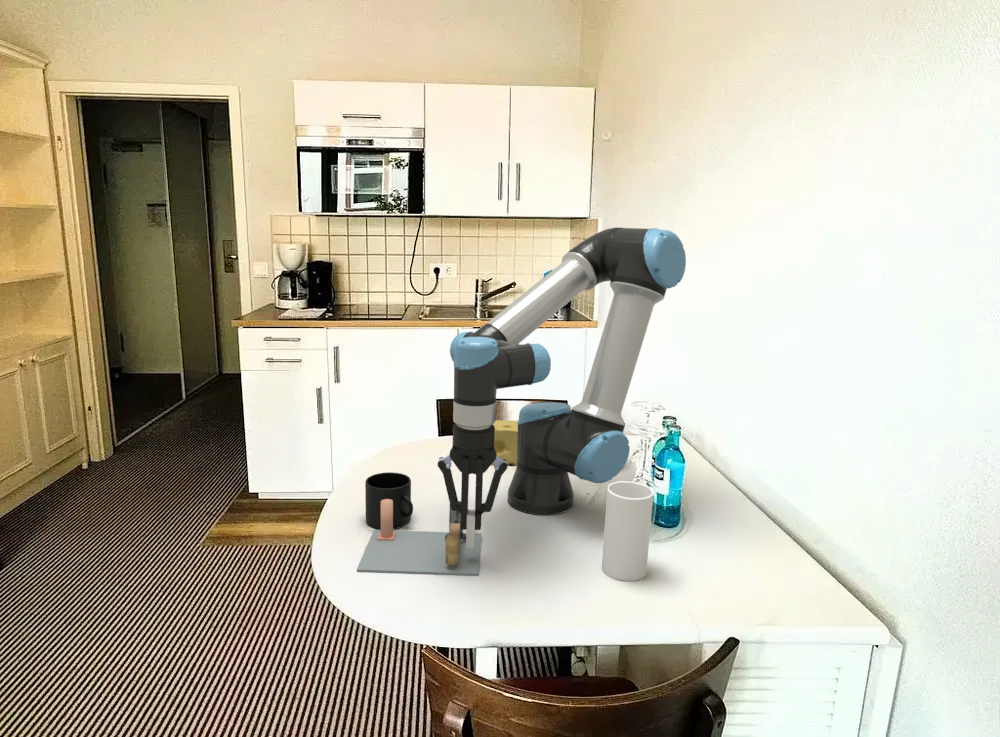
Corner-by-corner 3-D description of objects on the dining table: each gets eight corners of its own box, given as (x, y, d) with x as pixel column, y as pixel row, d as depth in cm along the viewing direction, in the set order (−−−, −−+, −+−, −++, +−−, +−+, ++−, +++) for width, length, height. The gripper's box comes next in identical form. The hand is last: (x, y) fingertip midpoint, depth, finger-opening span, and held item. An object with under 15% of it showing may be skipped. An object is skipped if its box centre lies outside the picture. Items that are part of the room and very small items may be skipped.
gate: (449, 539, 130) (449, 518, 129) (461, 539, 130) (461, 518, 129) (444, 564, 121) (445, 541, 120) (457, 565, 121) (458, 542, 120)
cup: (636, 586, 119) (644, 502, 115) (594, 572, 123) (600, 491, 119) (652, 567, 125) (659, 487, 122) (611, 554, 130) (617, 477, 126)
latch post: (396, 535, 134) (396, 498, 133) (393, 542, 131) (393, 505, 130) (380, 534, 134) (380, 497, 133) (377, 542, 131) (377, 504, 130)
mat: (481, 535, 136) (481, 533, 136) (478, 575, 120) (478, 573, 120) (373, 531, 136) (373, 529, 136) (356, 571, 120) (356, 569, 120)
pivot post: (467, 536, 135) (468, 499, 133) (466, 546, 131) (467, 508, 129) (445, 535, 135) (446, 498, 133) (443, 546, 131) (444, 508, 129)
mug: (395, 538, 133) (395, 496, 131) (356, 520, 140) (355, 480, 138) (428, 523, 140) (429, 483, 138) (389, 507, 148) (389, 468, 146)
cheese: (529, 467, 175) (531, 431, 173) (488, 466, 175) (489, 429, 173) (528, 454, 185) (529, 419, 183) (489, 452, 185) (490, 418, 183)
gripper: (509, 419, 123) (504, 536, 128) (439, 416, 123) (437, 534, 128) (510, 431, 116) (505, 555, 121) (435, 428, 115) (433, 553, 120)
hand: (470, 544), depth 124 cm, fingers closed
